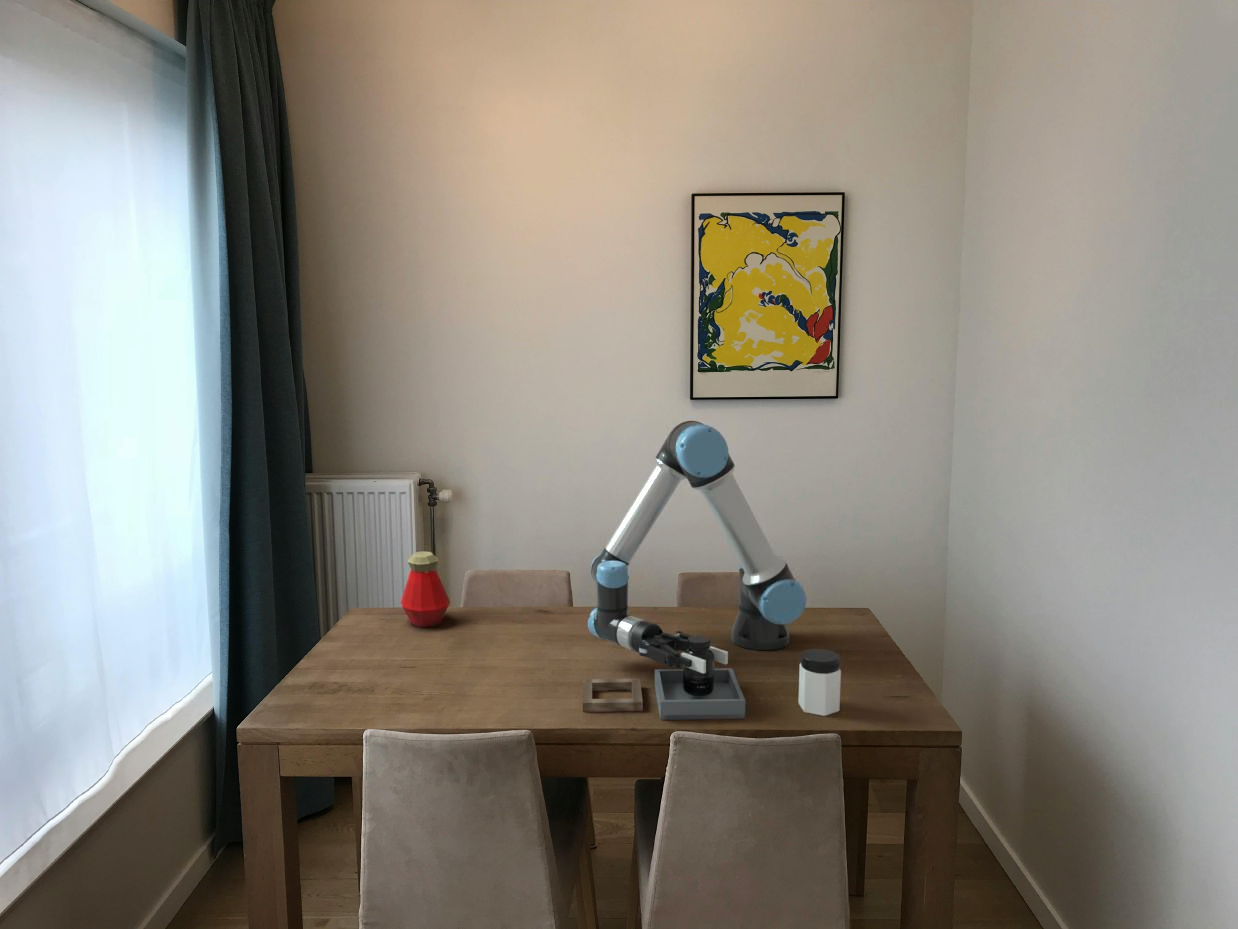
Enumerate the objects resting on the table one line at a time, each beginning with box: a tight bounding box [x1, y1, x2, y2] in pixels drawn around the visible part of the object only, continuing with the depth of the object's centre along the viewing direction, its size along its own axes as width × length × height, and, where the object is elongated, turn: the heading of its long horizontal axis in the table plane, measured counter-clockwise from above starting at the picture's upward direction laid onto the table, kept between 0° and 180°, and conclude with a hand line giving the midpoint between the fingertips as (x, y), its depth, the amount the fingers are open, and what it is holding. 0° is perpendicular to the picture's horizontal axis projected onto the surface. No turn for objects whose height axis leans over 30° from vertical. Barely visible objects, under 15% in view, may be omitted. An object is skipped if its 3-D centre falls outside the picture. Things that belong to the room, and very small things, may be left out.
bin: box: [654, 667, 746, 721], centre depth 192 cm, size 18×18×4 cm
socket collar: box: [582, 678, 644, 713], centre depth 193 cm, size 13×13×2 cm
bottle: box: [400, 551, 451, 629], centre depth 244 cm, size 16×14×20 cm
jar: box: [797, 648, 842, 717], centre depth 188 cm, size 9×8×12 cm
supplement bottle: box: [682, 635, 715, 696], centre depth 191 cm, size 7×7×12 cm
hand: (715, 662), depth 187 cm, fingers closed on supplement bottle, 7 cm apart
